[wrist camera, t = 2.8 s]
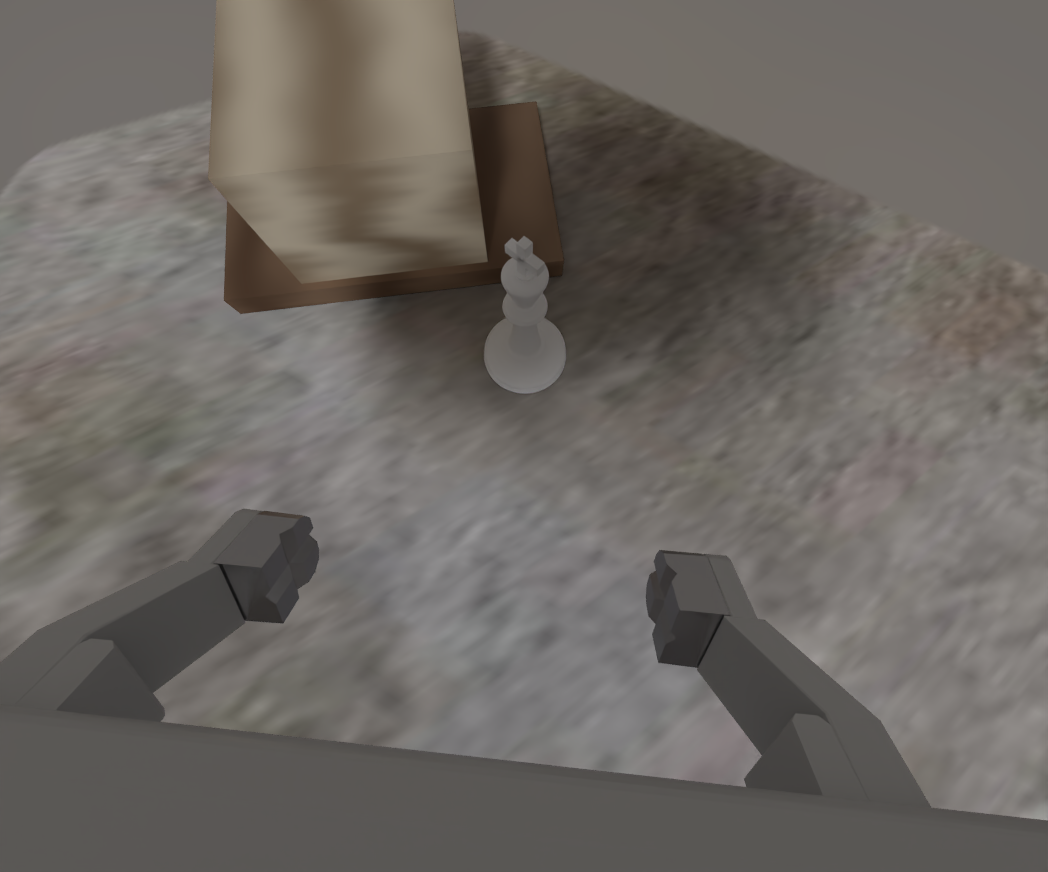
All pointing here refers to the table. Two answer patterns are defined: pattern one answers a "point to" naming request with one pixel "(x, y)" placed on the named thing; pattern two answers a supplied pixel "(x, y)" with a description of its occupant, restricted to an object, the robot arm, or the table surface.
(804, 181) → the table surface
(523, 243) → the chess piece
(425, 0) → the walnut base
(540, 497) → the table surface
